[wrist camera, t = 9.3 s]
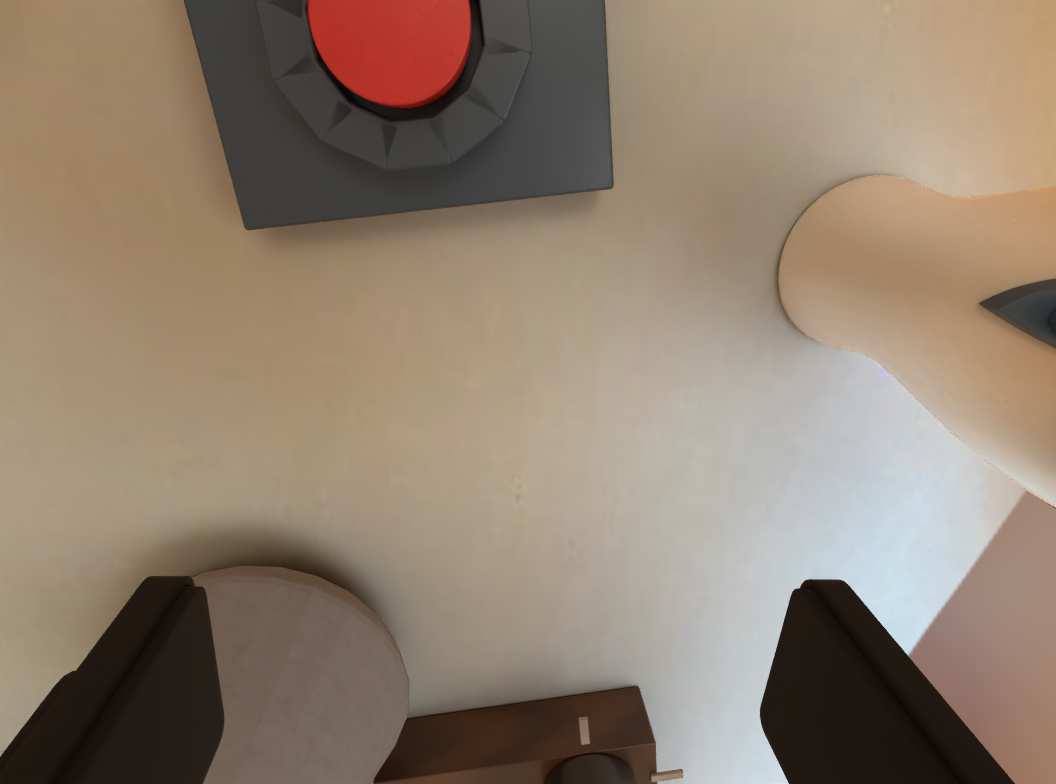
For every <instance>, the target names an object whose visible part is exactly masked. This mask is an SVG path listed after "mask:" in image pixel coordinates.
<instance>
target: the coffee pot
mask: <svg viewBox="0 0 1056 784" xmlns="http://www.w3.org/2000/svg"><path fill="white" fill-rule="evenodd" d="M192 579H193V581H194V584H195V586H201V587H204V589H205V590H206V594H207V601H208V607H209V614H210V621H211V628H212V634H213V641H214V648H215V655H216V661H217V668H218V675H219V682H220V688H221V695H222V702H223V709H224V718H225V721H224V730H223V734H222V738H221V741H220V744H219V747H218V749H217V751H216V754H215V756H214V758H213V761H212V763H211V766H210V768H209V770H208V773H207V775H206V777H205V780H204V782H203V784H371V782H372V781H373V779H374V778H375V776H376V774H377V773H378V771H379V770H380V768H381V767H382V765H383V764H384V762H385V760H386V759H387V757H388V756H389V754H390V753H391V751H392V750H393V748H394V747H395V745H396V742H397V740H398V737H399V735H400V733H401V730H402V728H403V725H404V723H405V721H406V718H407V715H408V703H409V680H408V676H407V673H406V670H405V666H404V663H403V660H402V657H401V653H400V651H399V649H398V646H397V644H396V642H395V640H394V638H393V637H392V635H391V634H390V632H389V631H388V630H387V628H386V627H385V625H384V624H383V622H382V621H381V620H380V618H379V617H378V615H377V614H376V613H375V612H374V611H373V610H371V609H370V608H369V607H368V606H367V605H365V604H364V603H363V602H362V601H361V600H359V599H358V598H357V597H356V596H354V595H353V594H352V593H351V592H349V591H347V590H345V589H343V588H341V587H339V586H337V585H335V584H333V583H331V582H329V581H327V580H325V579H323V578H320V577H318V576H315V575H311V574H307V573H303V572H299V571H295V570H291V569H287V568H283V567H268V566H236V567H230V568H225V569H219V570H214V571H208V572H203V573H201V574H199V575H197V576H194V577H192Z"/></svg>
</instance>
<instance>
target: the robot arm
mask: <svg viewBox="0 0 1056 784" xmlns="http://www.w3.org/2000/svg"><path fill="white" fill-rule="evenodd" d="M760 719H761V724H762V728H763V731H764V733H765V735H766V737H767V739H768V741H769V744H770V746H771V748H772V750H773V752H774V754H775V756H776V758H777V760H778V762H779V764H780V766H781V768H782V770H783V772H784V774H785V776H786V778H787V780H788V783H789V784H1015V783H1014V782H1013V781H1012V780H1011V779H1010V777H1009V776H1008V775H1007V774H1006V773H1005V771H1004V770H1003V769H1002V768H1001V767H1000V765H999V764H998V763H997V762H996V761H995V760H994V758H993V757H992V756H991V755H990V753H989V752H988V751H987V750H986V749H985V748H984V746H983V745H982V744H981V743H980V742H979V740H978V739H977V738H976V737H975V735H974V734H973V733H972V732H971V731H970V730H969V728H968V727H967V726H966V725H965V724H964V722H963V721H962V720H961V719H960V718H959V717H958V715H957V714H956V713H955V712H954V711H953V709H952V708H951V707H950V706H949V704H948V703H947V702H946V701H945V700H944V699H943V697H942V696H941V695H940V694H939V692H938V691H937V690H936V689H935V688H934V687H933V685H932V684H931V683H930V682H929V681H928V679H927V678H926V677H925V676H924V675H923V673H922V672H921V671H920V670H919V669H918V667H917V666H916V665H915V664H914V663H913V661H912V660H911V659H910V658H909V657H908V655H907V654H906V653H905V652H904V651H903V649H902V648H901V647H900V646H899V645H898V644H897V642H896V641H895V640H894V639H893V638H892V636H891V635H890V634H889V633H888V632H887V630H886V629H885V628H884V627H883V626H882V624H881V623H880V622H879V621H878V620H877V618H876V617H875V616H874V615H873V614H872V612H871V611H870V610H869V609H868V608H867V606H866V605H865V604H864V603H863V602H862V601H861V599H860V598H859V597H858V596H857V595H856V593H855V592H854V591H853V590H852V589H851V587H850V586H849V585H848V584H847V583H846V582H844V581H842V580H813V579H809V580H805V581H804V582H803V583H802V585H801V587H800V588H798V589H795V590H794V591H793V592H792V595H791V598H790V601H789V605H788V608H787V612H786V616H785V619H784V623H783V627H782V630H781V634H780V638H779V641H778V645H777V648H776V652H775V656H774V659H773V663H772V667H771V670H770V674H769V678H768V681H767V685H766V689H765V692H764V696H763V699H762V703H761V707H760ZM224 721H225V718H224V709H223V702H222V695H221V688H220V682H219V675H218V668H217V661H216V655H215V648H214V641H213V634H212V628H211V621H210V614H209V607H208V601H207V594H206V590H205V589H204V587H201V586H195V584H194V581H193V579H192V578H191V577H188V576H150V577H148V578H146V579H145V580H144V581H143V582H142V583H141V584H140V586H139V587H138V588H137V590H136V591H135V592H134V594H133V595H132V596H131V598H130V599H129V600H128V602H127V603H126V604H125V606H124V607H123V609H122V610H121V611H120V613H119V614H118V615H117V617H116V618H115V619H114V621H113V622H112V623H111V625H110V626H109V627H108V629H107V630H106V631H105V633H104V634H103V635H102V637H101V638H100V639H99V641H98V642H97V643H96V645H95V646H94V647H93V649H92V650H91V651H90V653H89V654H88V655H87V657H86V658H85V659H84V661H83V662H82V663H81V665H80V666H79V667H78V669H77V670H76V671H72V672H70V673H68V674H67V675H65V676H63V678H62V679H61V680H60V681H59V682H58V683H57V684H56V685H55V686H54V687H53V689H52V690H51V691H50V693H49V694H48V695H47V696H46V698H45V699H44V700H43V702H42V703H41V704H40V706H39V707H38V708H37V710H36V711H35V712H34V713H33V715H32V716H31V717H30V719H29V720H28V721H27V723H26V724H25V725H24V727H23V728H22V729H21V730H20V732H19V733H18V734H17V736H16V737H15V738H14V740H13V741H12V742H11V744H10V745H9V746H8V747H7V749H6V750H5V751H4V753H3V754H2V755H1V757H0V784H203V782H204V780H205V777H206V775H207V773H208V770H209V768H210V766H211V763H212V761H213V758H214V756H215V754H216V751H217V749H218V747H219V744H220V741H221V738H222V734H223V730H224Z"/></svg>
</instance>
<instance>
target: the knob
mask: <svg viewBox="0 0 1056 784" xmlns="http://www.w3.org/2000/svg"><path fill="white" fill-rule="evenodd" d="M545 784H636V781H635V777H634V774H633V772H632V770H631V769H630V768H629V766H628V765H627V764H625V763H624V762H623V761H621V760H619V759H617V758H615V757H612V756H608V755H601V754H590V755H583V756H579V757H576V758H573V759H570V760H568V761H566V762H564V763H562V764H561V765H559V766H558V767H557V768H556V769H555V770H553V772H552V773H551V774H550V775H549V777H548V778H547V780H546V783H545Z"/></svg>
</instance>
